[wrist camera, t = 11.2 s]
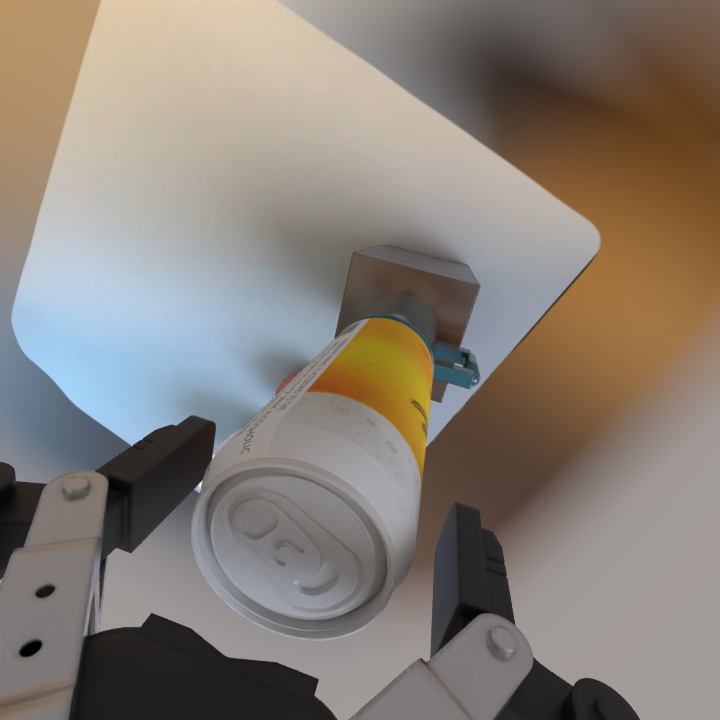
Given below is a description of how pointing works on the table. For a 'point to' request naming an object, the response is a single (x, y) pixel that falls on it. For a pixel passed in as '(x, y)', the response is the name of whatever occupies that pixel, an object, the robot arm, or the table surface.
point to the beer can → (322, 489)
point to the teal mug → (426, 336)
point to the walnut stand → (413, 291)
